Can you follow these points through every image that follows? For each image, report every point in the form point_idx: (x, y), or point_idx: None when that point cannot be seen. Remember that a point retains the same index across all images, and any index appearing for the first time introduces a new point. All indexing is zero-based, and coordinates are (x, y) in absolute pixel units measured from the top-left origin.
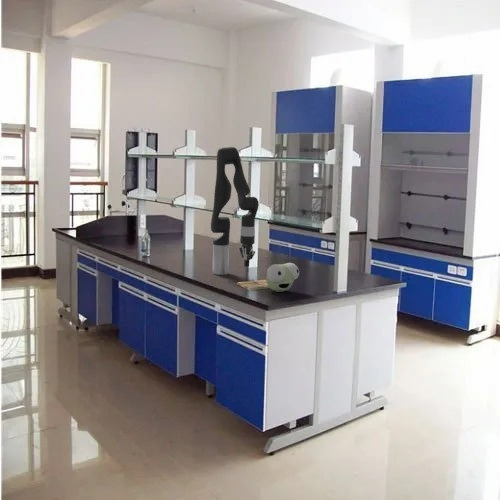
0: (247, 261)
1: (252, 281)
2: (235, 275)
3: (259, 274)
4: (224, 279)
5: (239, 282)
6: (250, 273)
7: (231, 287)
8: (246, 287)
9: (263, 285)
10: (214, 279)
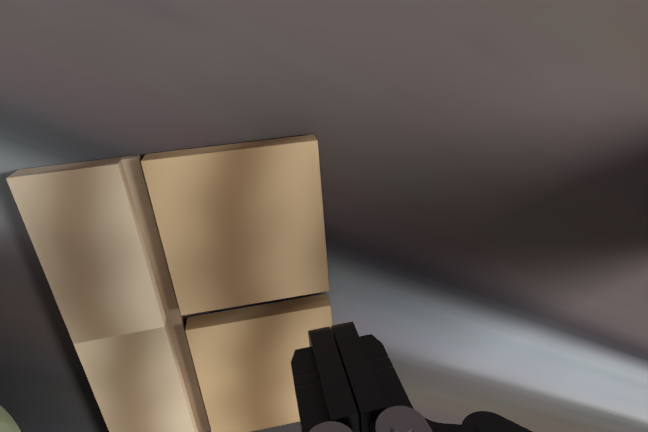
0: (301, 426)
1: (325, 304)
2: (644, 261)
3: (572, 416)
4: (582, 114)
5: (307, 165)
6: (628, 374)
7: (217, 20)
8: (96, 164)
9: (125, 345)
10: (636, 12)
